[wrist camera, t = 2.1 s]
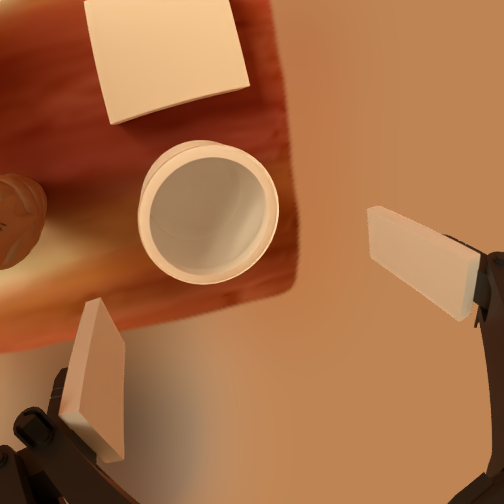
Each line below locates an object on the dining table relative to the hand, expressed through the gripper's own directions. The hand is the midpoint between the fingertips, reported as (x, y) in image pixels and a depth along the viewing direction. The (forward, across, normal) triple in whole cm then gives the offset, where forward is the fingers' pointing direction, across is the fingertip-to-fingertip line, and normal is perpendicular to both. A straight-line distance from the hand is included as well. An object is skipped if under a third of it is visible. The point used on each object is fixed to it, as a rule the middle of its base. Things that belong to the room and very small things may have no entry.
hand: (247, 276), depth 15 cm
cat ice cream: (+24, -18, +5) cm, 31 cm away
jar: (+24, 0, 0) cm, 25 cm away
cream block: (+24, +1, +16) cm, 29 cm away
